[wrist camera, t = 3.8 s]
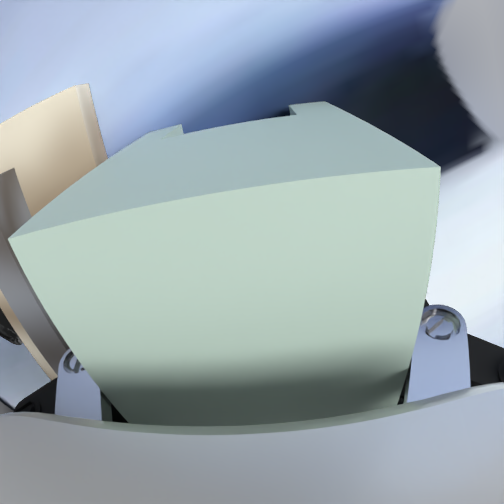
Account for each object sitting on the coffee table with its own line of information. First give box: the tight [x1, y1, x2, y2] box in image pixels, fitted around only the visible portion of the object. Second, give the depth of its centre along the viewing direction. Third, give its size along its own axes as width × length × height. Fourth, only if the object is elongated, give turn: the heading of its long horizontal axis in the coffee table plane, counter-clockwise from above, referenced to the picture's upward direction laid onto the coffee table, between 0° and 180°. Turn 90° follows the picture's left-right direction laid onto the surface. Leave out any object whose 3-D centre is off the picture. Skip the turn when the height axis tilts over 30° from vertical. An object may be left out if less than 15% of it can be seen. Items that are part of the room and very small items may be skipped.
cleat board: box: [0, 83, 108, 381], centre depth 14 cm, size 20×10×3 cm, turn 10°
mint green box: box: [8, 101, 441, 426], centre depth 10 cm, size 11×6×8 cm, turn 10°
